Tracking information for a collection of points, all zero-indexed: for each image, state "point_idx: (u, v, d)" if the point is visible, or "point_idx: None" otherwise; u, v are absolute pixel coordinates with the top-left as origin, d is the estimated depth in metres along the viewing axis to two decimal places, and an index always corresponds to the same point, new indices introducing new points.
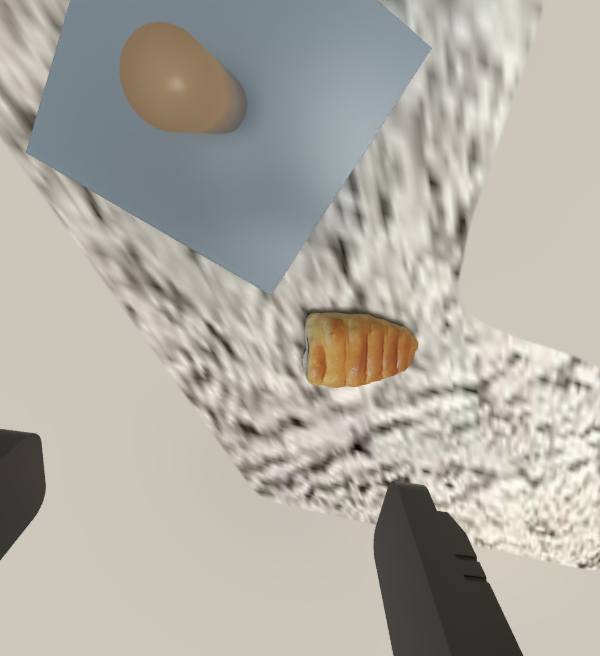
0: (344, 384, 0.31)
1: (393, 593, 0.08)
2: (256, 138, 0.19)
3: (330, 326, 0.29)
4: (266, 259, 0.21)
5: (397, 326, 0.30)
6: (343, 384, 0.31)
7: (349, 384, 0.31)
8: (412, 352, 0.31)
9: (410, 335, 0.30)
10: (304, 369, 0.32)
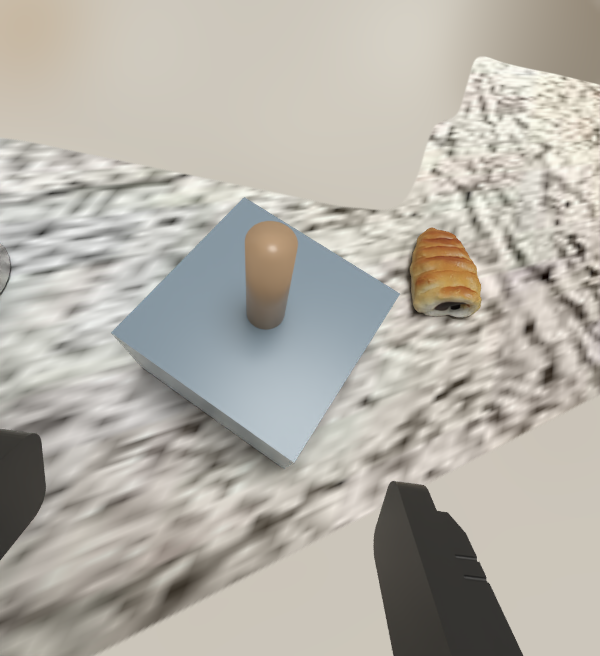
0: (475, 274, 0.35)
1: (393, 593, 0.08)
2: (288, 291, 0.27)
3: (422, 285, 0.35)
4: (371, 294, 0.27)
5: (417, 243, 0.38)
6: (475, 275, 0.35)
7: (474, 270, 0.35)
8: (437, 230, 0.38)
9: (423, 233, 0.38)
10: (467, 313, 0.36)
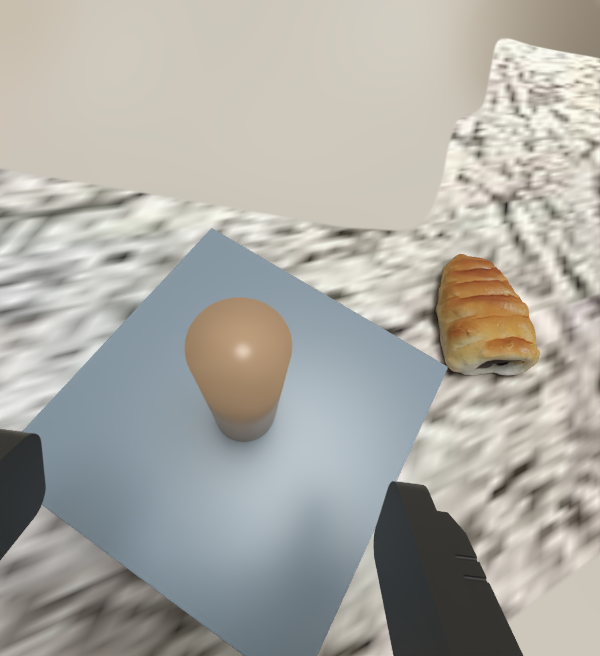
0: (528, 318, 0.26)
1: (393, 593, 0.08)
2: None
3: (459, 338, 0.25)
4: (406, 370, 0.18)
5: (443, 276, 0.29)
6: (528, 319, 0.26)
7: (526, 311, 0.26)
8: (469, 258, 0.29)
9: (450, 262, 0.29)
10: (520, 371, 0.26)
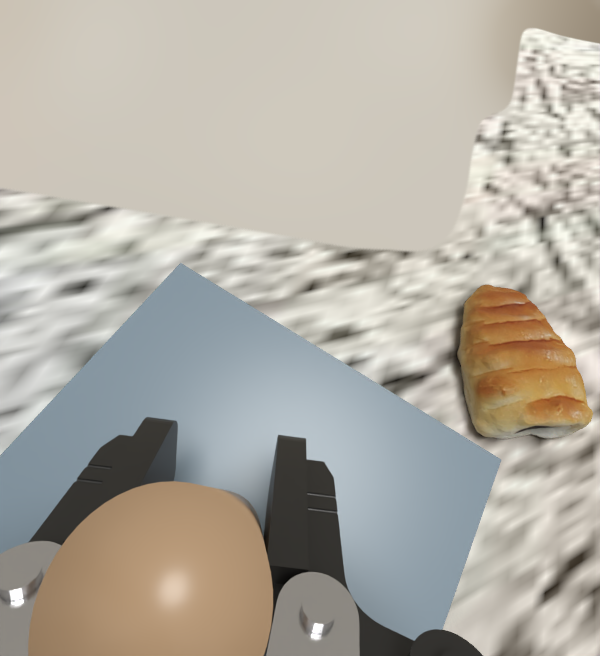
0: (575, 368, 0.21)
1: (265, 530, 0.08)
2: (268, 476, 0.12)
3: (491, 398, 0.20)
4: (444, 465, 0.13)
5: (466, 313, 0.23)
6: (576, 369, 0.21)
7: (573, 360, 0.21)
8: (497, 289, 0.23)
9: (474, 295, 0.23)
10: (566, 433, 0.21)
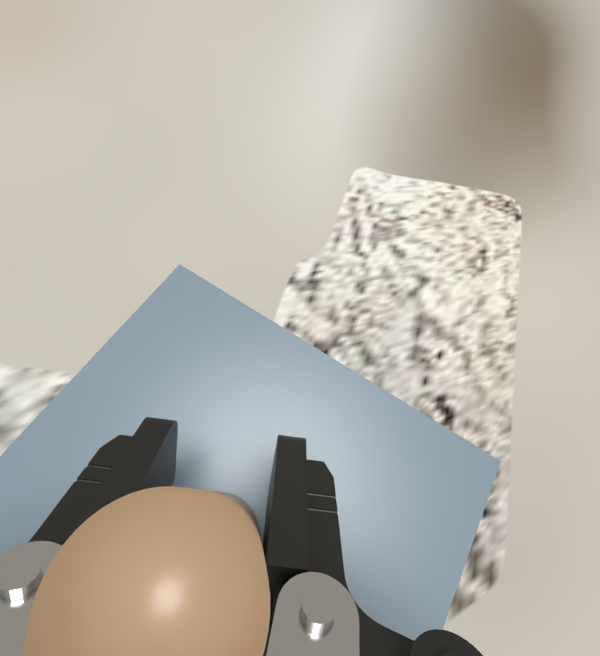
0: None
1: (265, 529, 0.08)
2: (267, 478, 0.12)
3: None
4: (444, 467, 0.13)
5: None
6: None
7: None
8: None
9: None
10: None
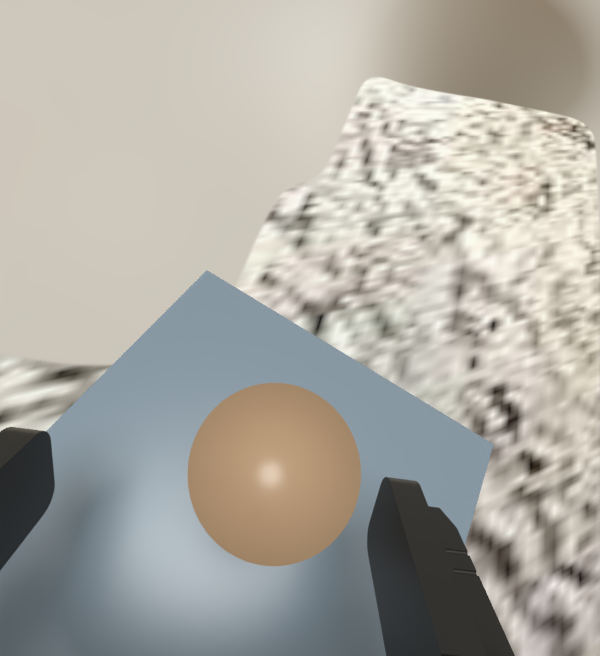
0: None
1: (385, 587, 0.08)
2: None
3: None
4: (445, 448, 0.15)
5: None
6: None
7: None
8: None
9: None
10: None
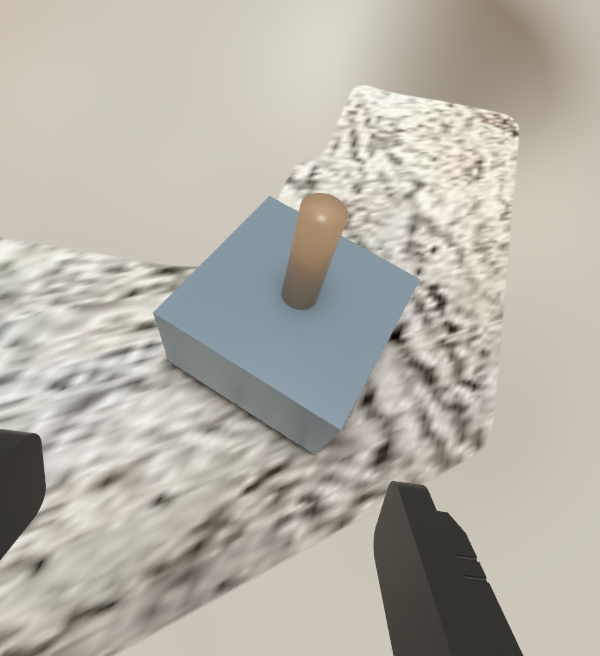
0: None
1: (393, 593, 0.08)
2: None
3: None
4: (394, 279, 0.29)
5: None
6: None
7: None
8: None
9: None
10: None
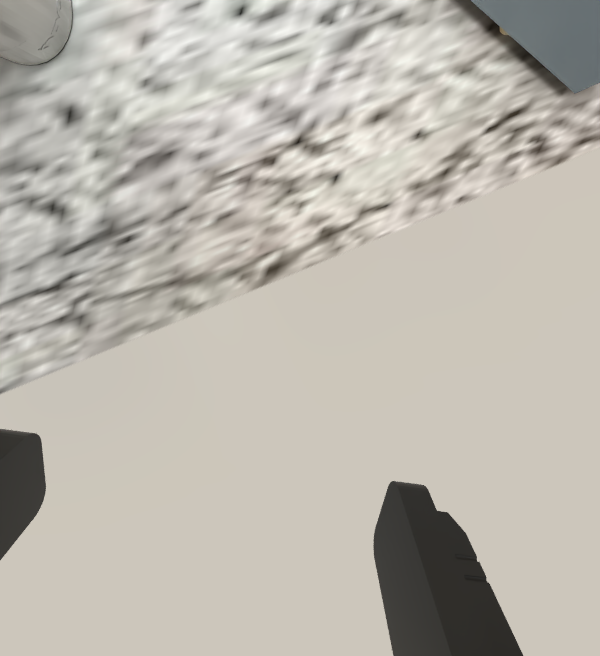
0: None
1: (393, 593, 0.08)
2: None
3: None
4: None
5: None
6: None
7: None
8: None
9: None
10: None
